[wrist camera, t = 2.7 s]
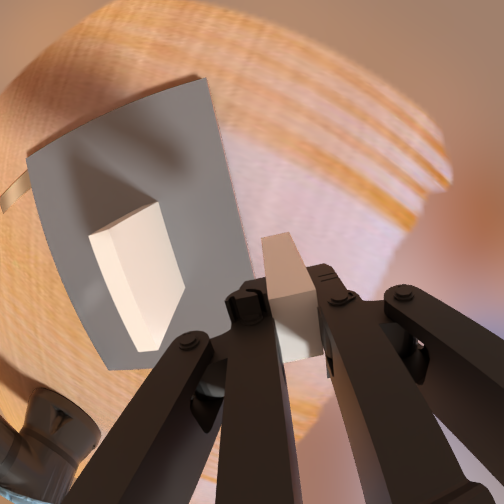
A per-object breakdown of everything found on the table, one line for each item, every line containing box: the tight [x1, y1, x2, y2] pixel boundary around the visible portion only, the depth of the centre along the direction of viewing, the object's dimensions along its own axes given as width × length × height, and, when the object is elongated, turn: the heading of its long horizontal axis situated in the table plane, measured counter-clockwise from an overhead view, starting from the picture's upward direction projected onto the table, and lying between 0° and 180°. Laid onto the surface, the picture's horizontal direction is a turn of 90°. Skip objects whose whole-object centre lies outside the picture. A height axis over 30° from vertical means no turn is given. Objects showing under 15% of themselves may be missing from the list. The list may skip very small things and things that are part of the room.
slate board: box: [26, 78, 256, 370], centre depth 24 cm, size 20×26×1 cm
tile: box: [88, 202, 185, 352], centre depth 19 cm, size 2×8×9 cm, turn 12°
